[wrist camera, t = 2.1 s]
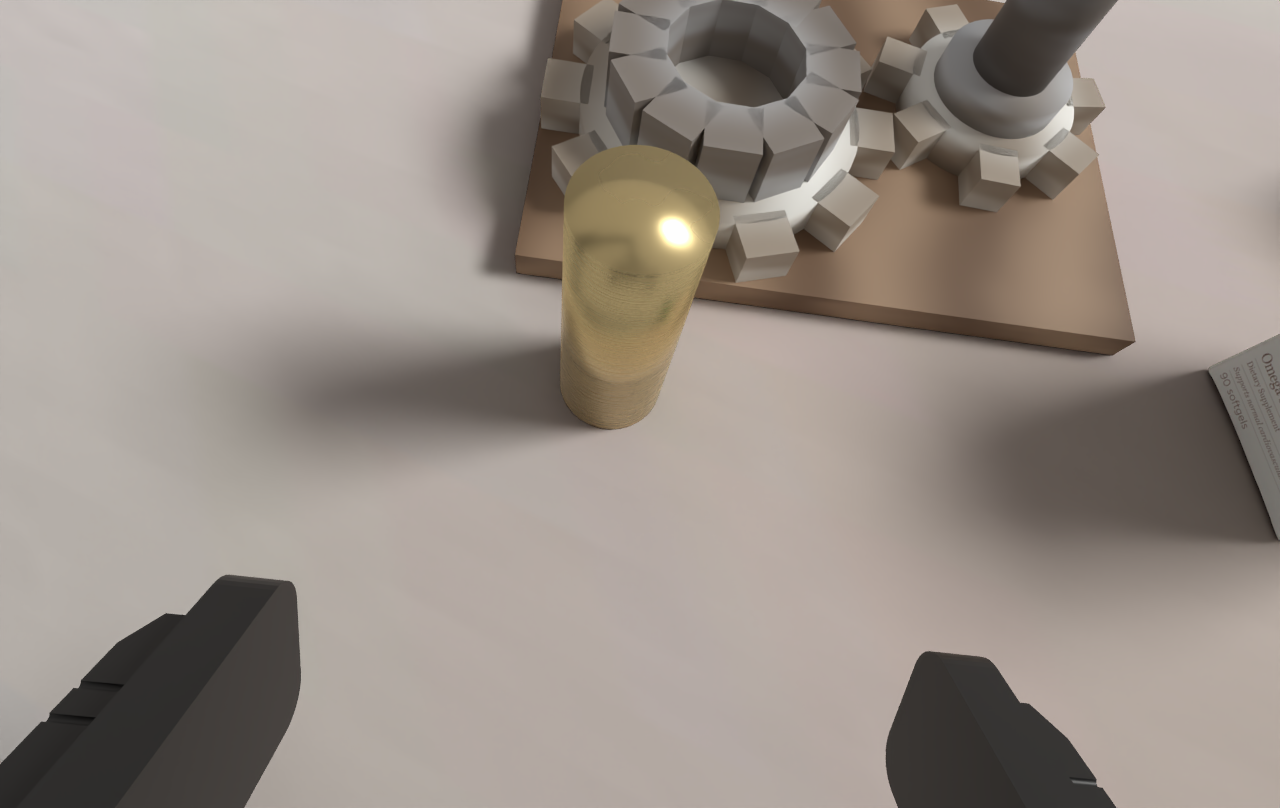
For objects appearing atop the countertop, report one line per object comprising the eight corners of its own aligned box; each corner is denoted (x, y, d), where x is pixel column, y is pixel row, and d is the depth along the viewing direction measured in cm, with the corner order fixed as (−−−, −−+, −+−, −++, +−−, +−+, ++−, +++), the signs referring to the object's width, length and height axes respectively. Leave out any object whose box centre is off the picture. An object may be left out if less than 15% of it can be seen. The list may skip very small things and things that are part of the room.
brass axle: (553, 422, 24) (554, 262, 15) (566, 331, 26) (574, 134, 17) (655, 435, 25) (716, 284, 15) (663, 344, 26) (722, 157, 17)
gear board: (516, 272, 26) (494, 23, 16) (575, -47, 33) (584, -359, 23) (1112, 355, 28) (1418, 174, 18) (1051, 35, 35) (1248, -223, 25)
